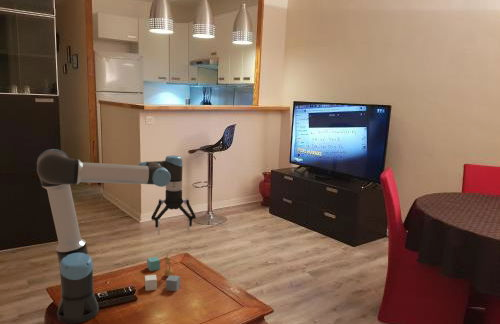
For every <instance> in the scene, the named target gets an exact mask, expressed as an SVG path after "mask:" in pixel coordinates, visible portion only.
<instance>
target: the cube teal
mask: <svg viewBox="0 0 500 324" xmlns="http://www.w3.org/2000/svg"><path fill="white" fill-rule="evenodd" d="M146 260H147V261H146V262H147V263H146V268H147V269H148V270H149V272H155V271H159V270H161V262H160V261H161V259H160V258H159V257H158V256H153V257H149V258H146ZM159 262H160V264H159Z"/></svg>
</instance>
